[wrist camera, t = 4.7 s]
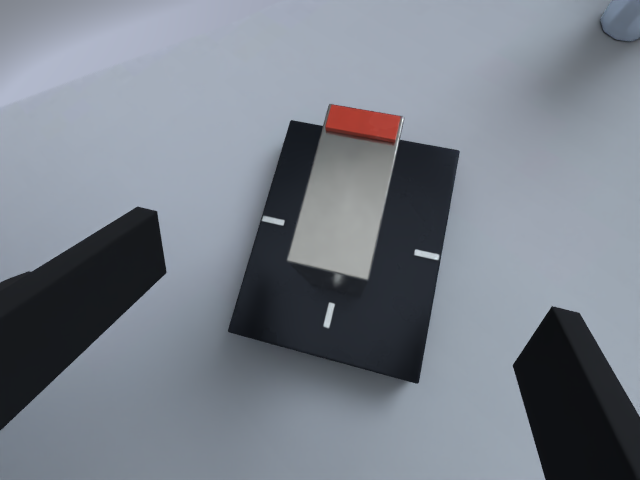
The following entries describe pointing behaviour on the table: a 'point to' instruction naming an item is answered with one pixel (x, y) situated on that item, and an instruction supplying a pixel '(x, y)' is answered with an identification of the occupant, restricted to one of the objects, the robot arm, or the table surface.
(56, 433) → the table surface
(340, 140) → the red-capped silver block
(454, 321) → the table surface
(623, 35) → the milkshake
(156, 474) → the table surface
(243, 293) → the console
